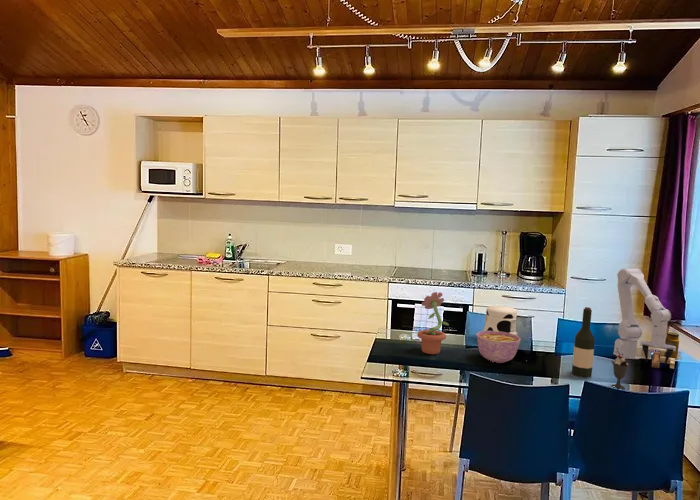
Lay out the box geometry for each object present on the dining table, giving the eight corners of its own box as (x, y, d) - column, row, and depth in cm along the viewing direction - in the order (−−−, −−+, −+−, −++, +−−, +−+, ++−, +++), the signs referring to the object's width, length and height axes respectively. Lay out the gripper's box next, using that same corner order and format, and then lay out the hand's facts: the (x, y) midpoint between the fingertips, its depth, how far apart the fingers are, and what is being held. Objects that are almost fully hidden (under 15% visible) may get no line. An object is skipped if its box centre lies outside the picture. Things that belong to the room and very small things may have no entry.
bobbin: (657, 361, 261) (659, 349, 260) (650, 357, 267) (651, 345, 266) (669, 361, 261) (671, 349, 261) (662, 357, 267) (663, 346, 267)
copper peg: (654, 368, 250) (655, 353, 249) (650, 366, 253) (651, 351, 252) (660, 368, 250) (662, 353, 249) (656, 366, 253) (658, 351, 252)
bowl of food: (521, 358, 255) (523, 334, 254) (515, 370, 237) (517, 344, 236) (479, 351, 264) (481, 328, 263) (470, 362, 246) (472, 337, 244)
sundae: (610, 382, 227) (614, 348, 225) (628, 386, 223) (631, 351, 221) (607, 387, 221) (611, 351, 219) (625, 391, 217) (629, 355, 216)
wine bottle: (567, 371, 239) (573, 305, 236) (585, 371, 240) (591, 305, 237) (577, 377, 231) (583, 309, 228) (595, 378, 232) (602, 310, 229)
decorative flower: (438, 347, 268) (442, 288, 264) (452, 355, 255) (456, 293, 251) (411, 348, 263) (415, 288, 260) (424, 357, 250) (427, 294, 247)
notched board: (673, 368, 250) (674, 363, 250) (654, 365, 254) (654, 360, 254) (674, 363, 259) (674, 358, 258) (655, 360, 263) (655, 355, 262)
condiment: (680, 357, 269) (683, 334, 268) (672, 360, 265) (675, 336, 263) (665, 353, 275) (668, 331, 274) (657, 355, 271) (659, 332, 269)
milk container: (480, 336, 292) (483, 304, 290) (513, 339, 290) (516, 306, 288) (484, 345, 275) (486, 311, 273) (518, 348, 273) (521, 313, 271)
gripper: (640, 333, 250) (637, 361, 252) (676, 339, 243) (673, 368, 244) (641, 330, 256) (638, 358, 258) (677, 336, 249) (673, 364, 250)
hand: (655, 363), depth 251 cm, fingers open, 7 cm apart
